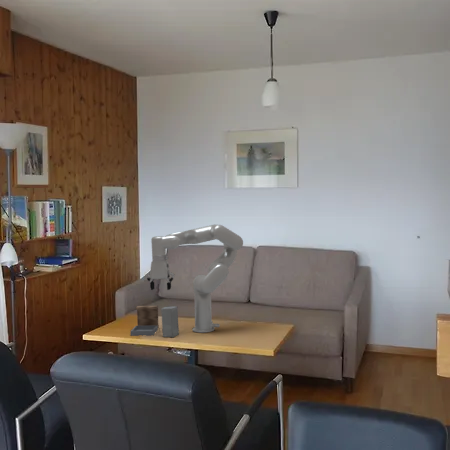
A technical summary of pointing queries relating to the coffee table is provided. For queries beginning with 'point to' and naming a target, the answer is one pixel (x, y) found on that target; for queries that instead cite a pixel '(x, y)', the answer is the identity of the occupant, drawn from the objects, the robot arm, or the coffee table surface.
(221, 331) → the coffee table surface
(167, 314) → the skincare box
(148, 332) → the blue-grey shallow tray
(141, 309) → the dark block on base
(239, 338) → the coffee table surface
